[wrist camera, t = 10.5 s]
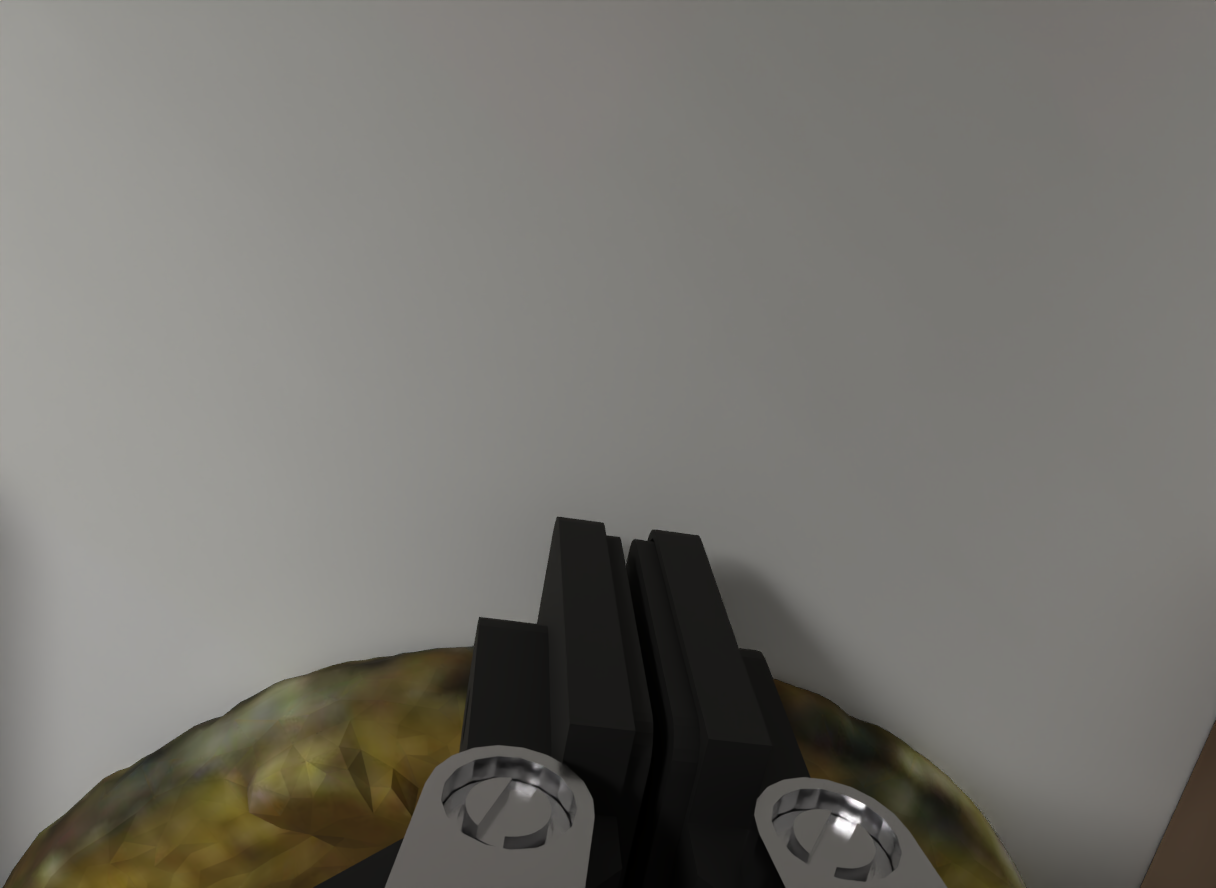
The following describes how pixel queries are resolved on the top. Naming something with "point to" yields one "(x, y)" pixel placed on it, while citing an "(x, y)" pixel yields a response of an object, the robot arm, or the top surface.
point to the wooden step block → (1190, 832)
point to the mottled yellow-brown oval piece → (401, 786)
